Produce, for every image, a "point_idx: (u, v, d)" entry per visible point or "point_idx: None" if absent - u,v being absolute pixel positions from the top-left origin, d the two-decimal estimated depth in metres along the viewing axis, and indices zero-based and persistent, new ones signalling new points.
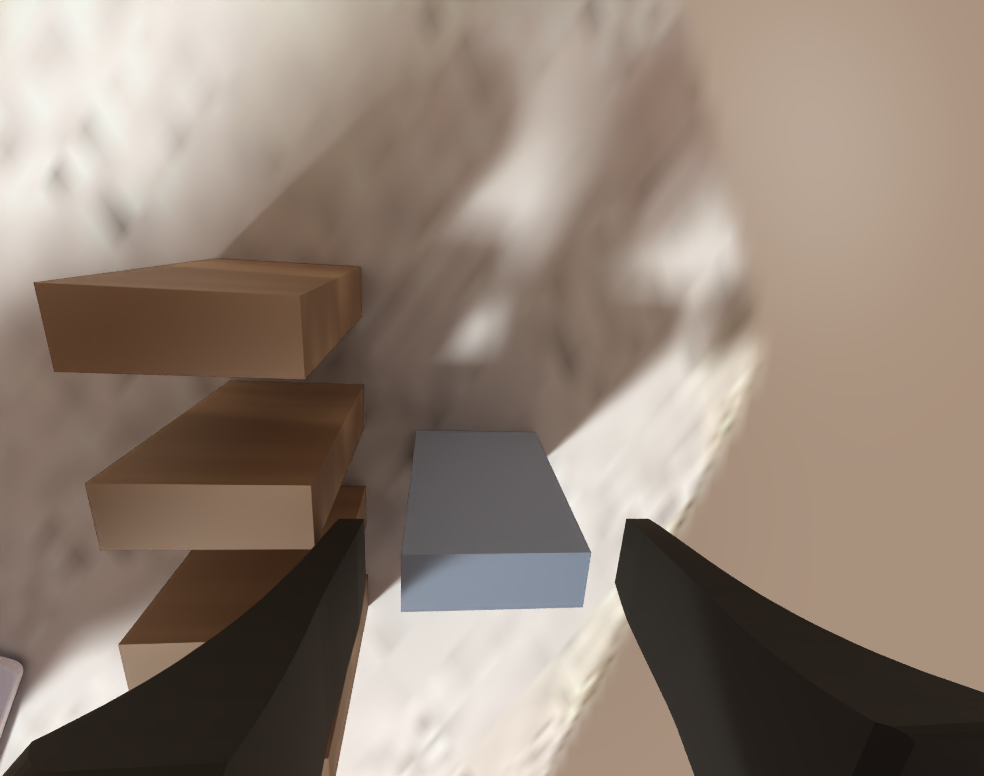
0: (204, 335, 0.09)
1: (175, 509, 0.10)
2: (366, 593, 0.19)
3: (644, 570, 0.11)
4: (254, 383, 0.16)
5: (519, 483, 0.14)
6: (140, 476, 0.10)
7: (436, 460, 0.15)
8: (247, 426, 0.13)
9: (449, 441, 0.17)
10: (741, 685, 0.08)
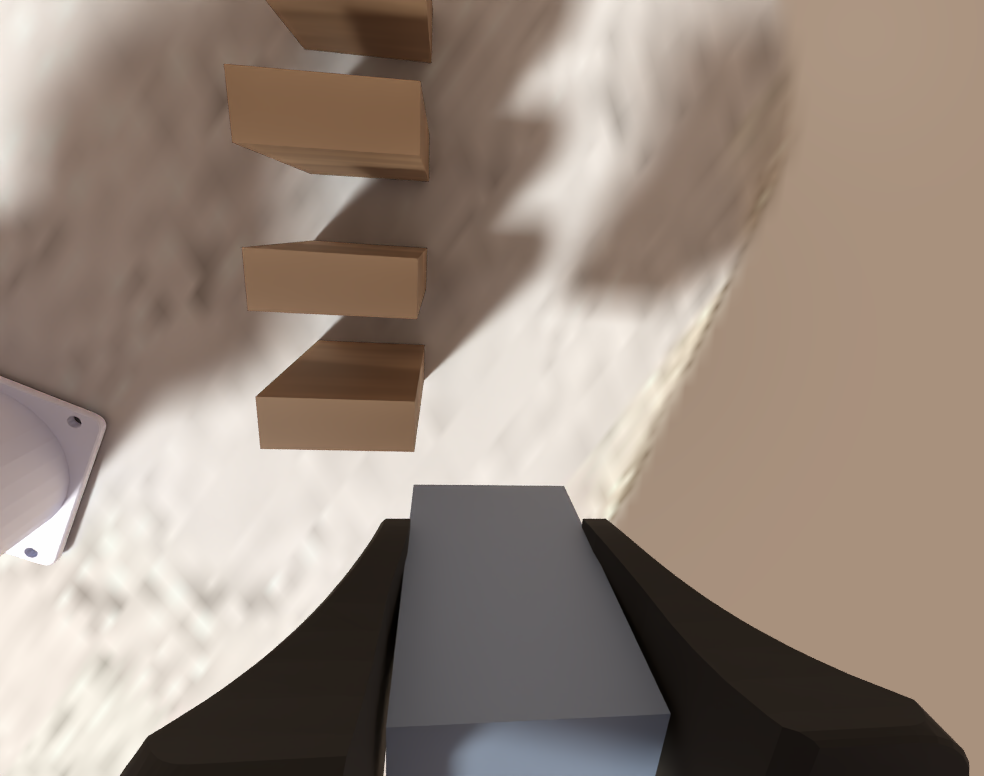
0: None
1: (300, 99, 0.11)
2: None
3: None
4: None
5: (551, 575, 0.10)
6: None
7: (438, 534, 0.11)
8: None
9: (455, 502, 0.13)
10: (674, 688, 0.08)
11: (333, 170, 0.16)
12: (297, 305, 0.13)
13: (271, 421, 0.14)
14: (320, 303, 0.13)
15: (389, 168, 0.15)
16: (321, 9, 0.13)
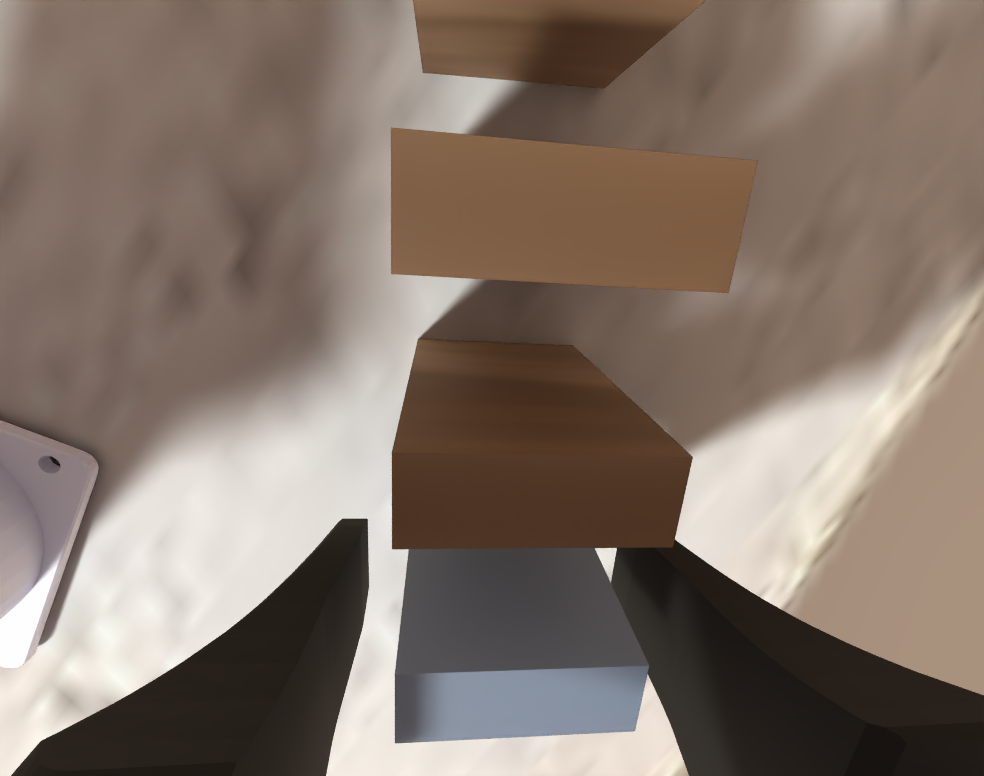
0: None
1: None
2: None
3: (640, 570, 0.11)
4: None
5: (544, 550, 0.11)
6: None
7: None
8: None
9: None
10: (735, 686, 0.08)
11: (480, 49, 0.10)
12: (495, 263, 0.06)
13: (418, 498, 0.07)
14: (543, 258, 0.06)
15: (610, 23, 0.08)
16: None
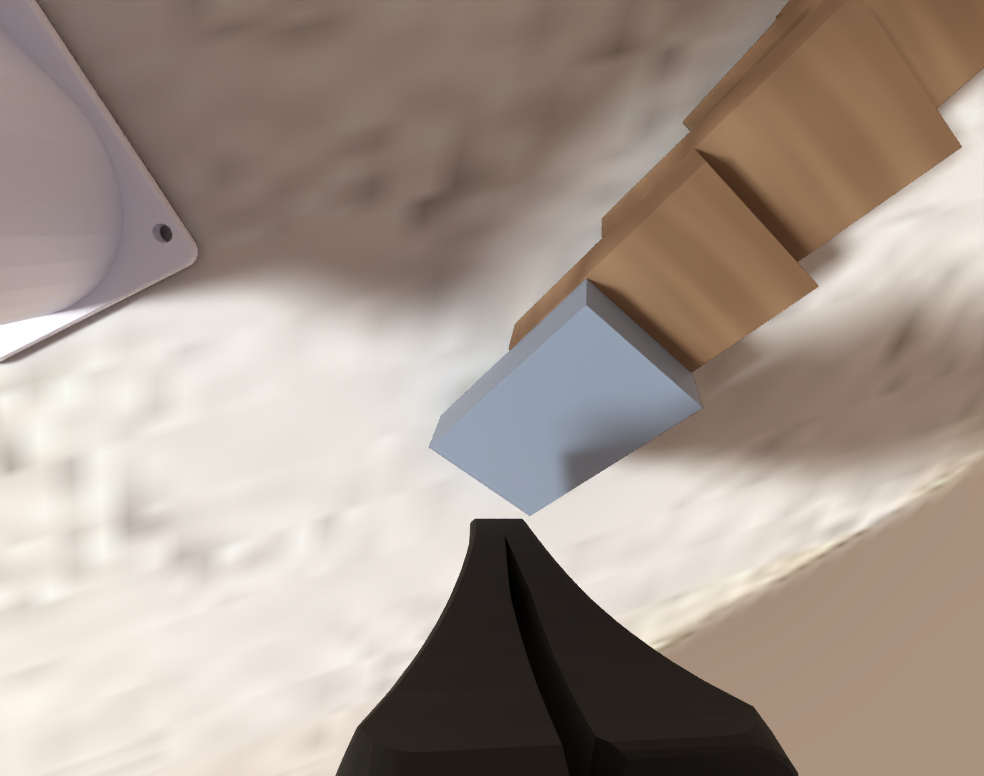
0: None
1: None
2: None
3: None
4: None
5: None
6: None
7: None
8: None
9: None
10: (543, 693, 0.07)
11: None
12: None
13: None
14: None
15: None
16: None
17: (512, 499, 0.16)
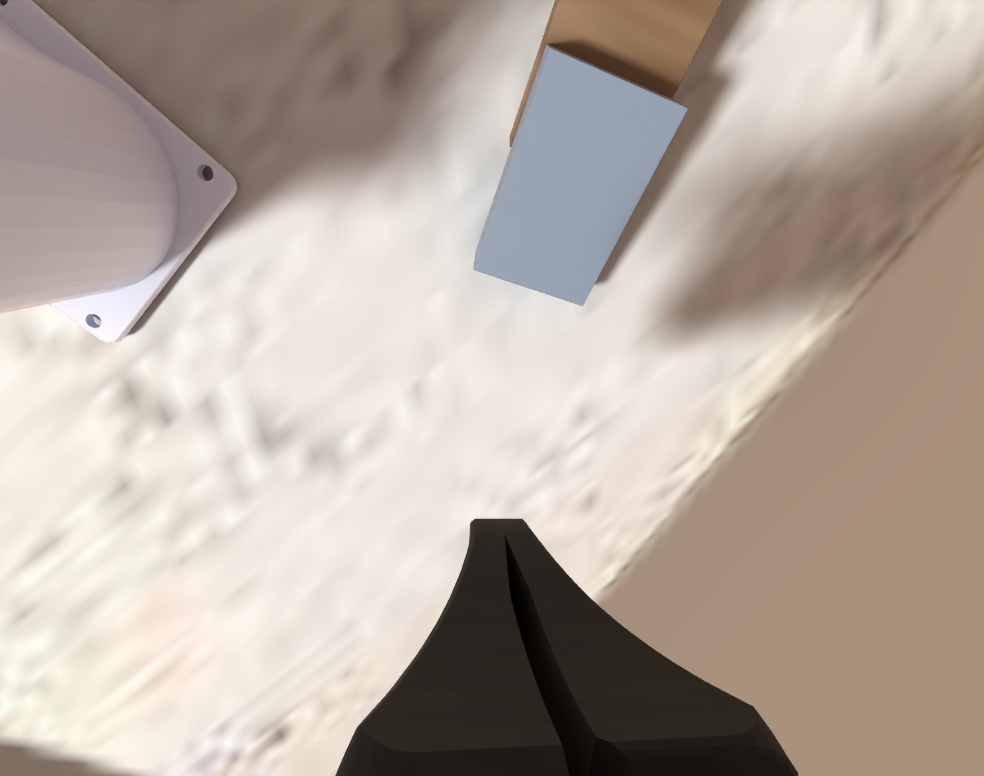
0: None
1: None
2: None
3: None
4: None
5: None
6: None
7: None
8: None
9: None
10: (543, 694, 0.07)
11: None
12: None
13: None
14: None
15: None
16: None
17: (561, 294, 0.18)
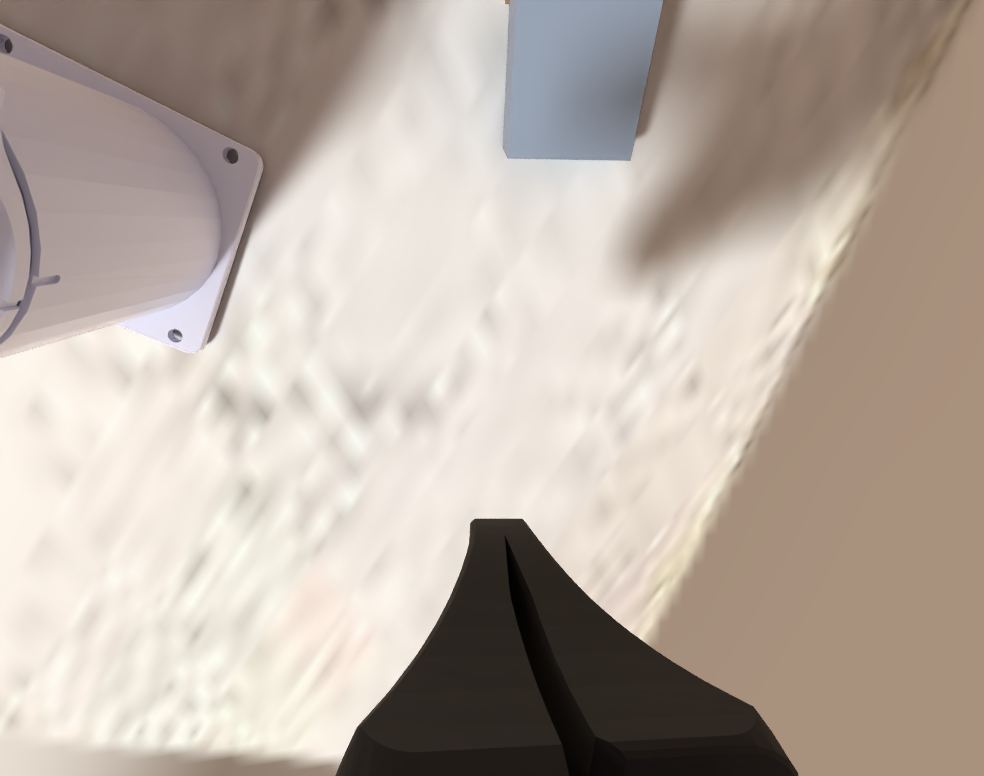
0: None
1: None
2: None
3: None
4: None
5: None
6: None
7: None
8: None
9: None
10: (543, 693, 0.07)
11: None
12: None
13: None
14: None
15: None
16: None
17: (604, 154, 0.17)
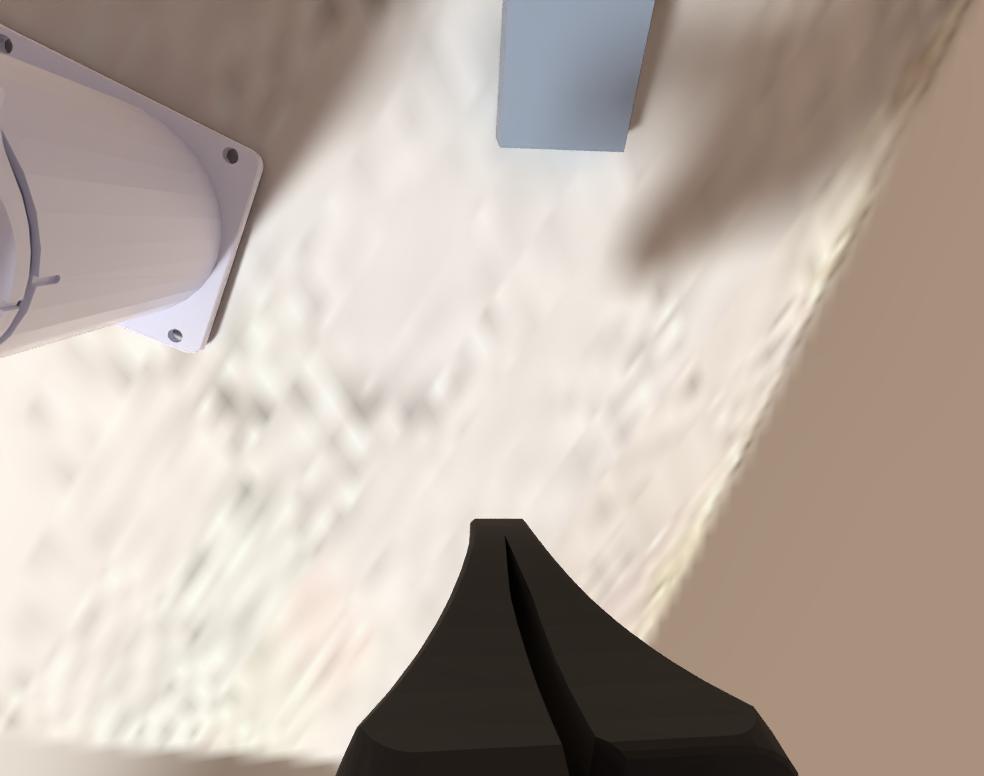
0: None
1: None
2: None
3: None
4: None
5: None
6: None
7: None
8: None
9: None
10: (543, 693, 0.07)
11: None
12: None
13: None
14: None
15: None
16: None
17: (597, 144, 0.17)
